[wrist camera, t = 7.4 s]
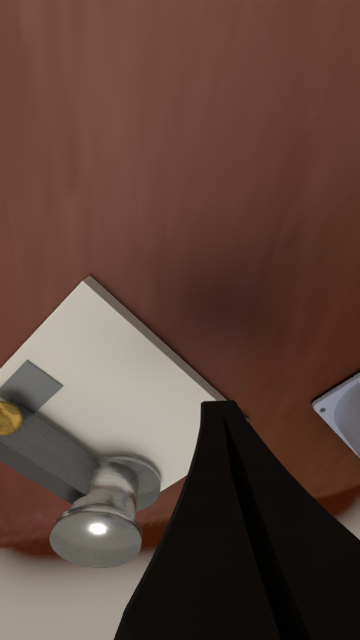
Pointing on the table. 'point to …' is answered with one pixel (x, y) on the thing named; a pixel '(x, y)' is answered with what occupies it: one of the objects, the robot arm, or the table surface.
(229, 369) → the table surface
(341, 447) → the table surface
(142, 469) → the capstan
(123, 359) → the stand
